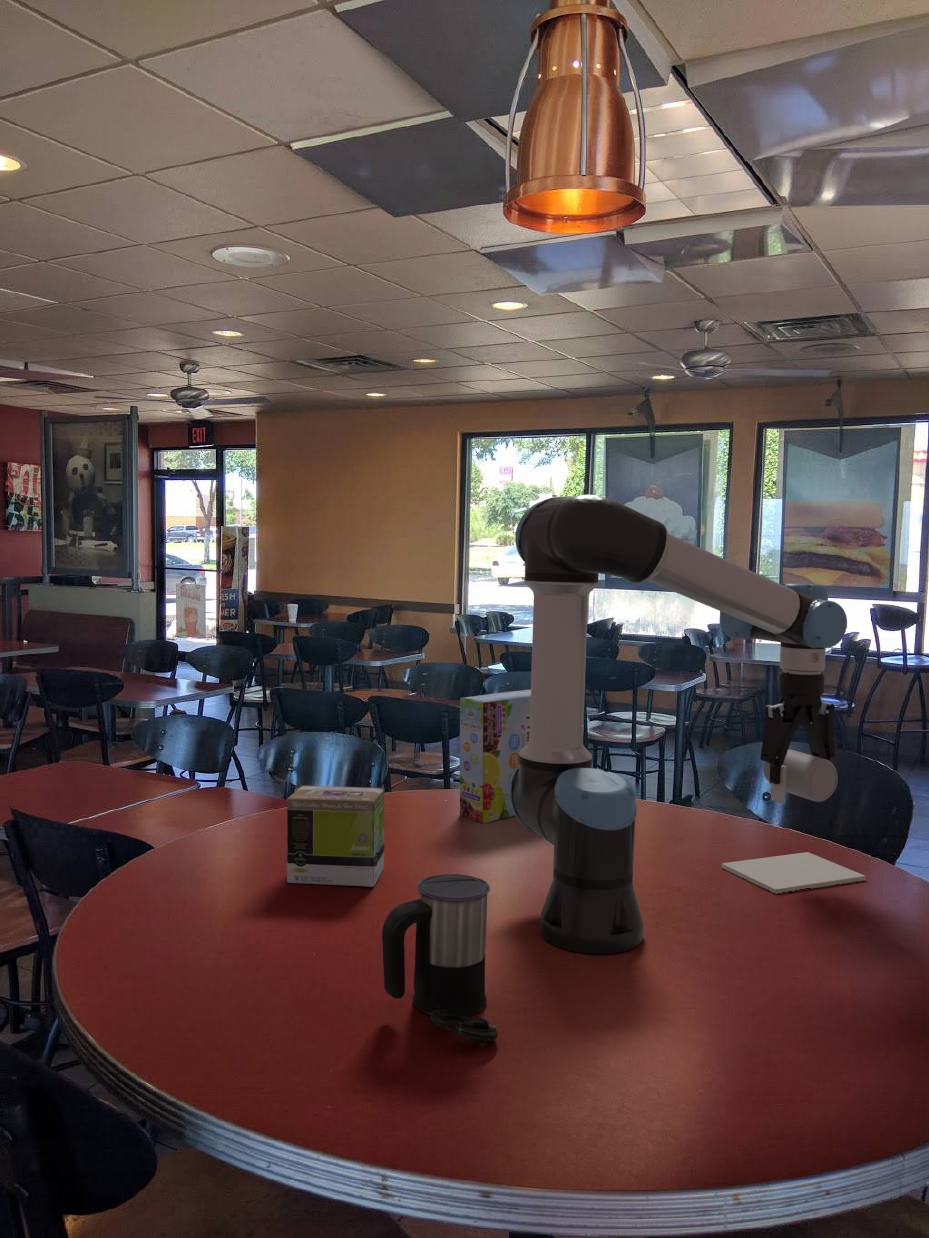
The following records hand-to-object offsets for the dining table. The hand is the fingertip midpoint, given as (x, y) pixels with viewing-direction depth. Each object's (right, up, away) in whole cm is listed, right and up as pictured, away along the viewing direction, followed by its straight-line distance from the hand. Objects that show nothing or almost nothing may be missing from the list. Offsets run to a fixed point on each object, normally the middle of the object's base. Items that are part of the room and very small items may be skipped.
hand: (796, 799), depth 168 cm
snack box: (-50, -10, +38) cm, 63 cm away
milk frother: (-60, -16, -54) cm, 82 cm away
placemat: (0, -13, +1) cm, 13 cm away
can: (+3, +4, -6) cm, 8 cm away
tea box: (-81, -12, -6) cm, 82 cm away
